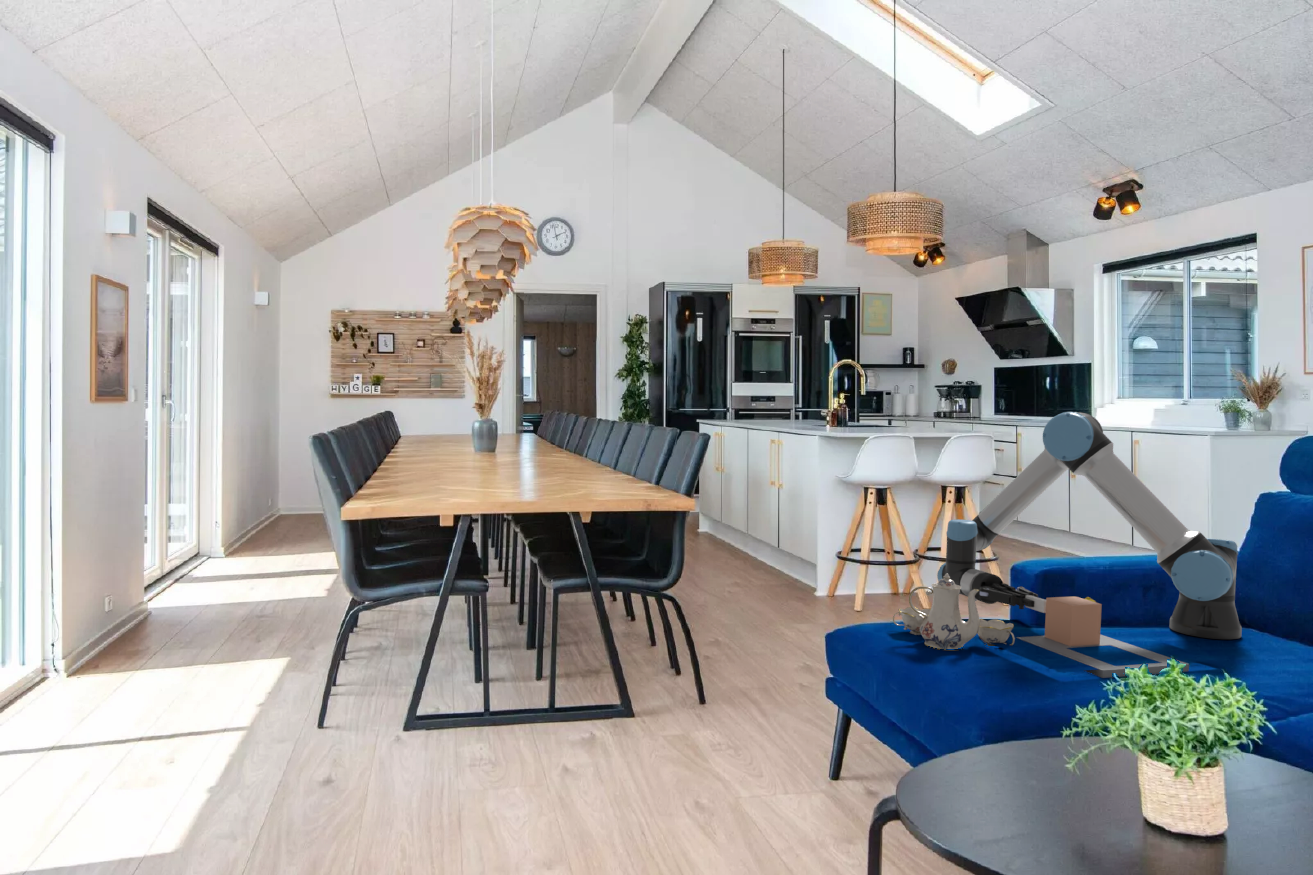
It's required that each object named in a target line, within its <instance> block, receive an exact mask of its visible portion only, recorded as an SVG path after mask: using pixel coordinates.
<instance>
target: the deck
mask: <svg viewBox="0 0 1313 875" xmlns="http://www.w3.org/2000/svg"><path fill="white" fill-rule="evenodd" d="M1016 638H1017V639H1018V640H1021V641H1023V642H1025V643H1029V644H1031V645H1033V646H1037V647H1039V648H1042V649H1044V650H1047V651H1050V652H1053V653H1055V654H1058V655H1060V656H1063V657H1066V658H1068V659H1071V660H1073V661H1077V662H1079V663H1082V664H1084V665H1086V666H1090V667H1092V668H1094V669H1088V670H1087V669H1085V670H1083V671H1084V672H1086V673H1089V674H1091V673H1092V674H1091V675H1094V676H1097V677H1098V678H1102V679H1105V678H1108V679H1109V678H1113V677H1112V673H1116V674H1117V675H1118V676H1119V677H1126V676H1125V667H1130V668H1139V667H1140V666H1141V665H1142V664H1143V663H1141V664H1129V665H1128V664H1127V665H1113V664H1110V663H1108V662H1105V661H1102V660H1100V659H1097V658H1095V657H1092V656H1089V655H1086V654H1084V653H1082V652H1081V653H1080V652H1077V651H1076V650H1072V649H1073V648H1074V649H1075V648H1086V647H1087V648H1088V647H1101V646H1102V647H1103V646H1105V647H1106V646H1111V647H1114V648H1117V649H1120V650H1122V651H1126V652H1129V653H1132V654H1135V655H1137V656H1140V657H1144V658H1146V659H1149V660H1152V661H1155V663H1152V662H1151V663H1147V664H1148V669H1149V672H1150V673H1152V674H1151V675H1156V674H1157V675H1158V674H1159V675H1160V673H1159V672H1160V671H1161V670H1162V669H1164V668H1167V659H1170V658H1171V657H1169V656H1166V655H1164V654H1160V653H1157V652H1154V651H1152V650H1148V649H1146V648H1142V647H1139V646H1137V645H1134V644H1130V643H1128V642H1124V641H1121V640H1119V639H1115V638H1112V637H1109V636H1107V635H1103V634H1101V633H1100V644H1097V645H1081V646H1068V645H1065V644H1063V643H1060V642H1057V641H1054V640H1052V639H1049V638H1046V637H1045V635H1033V636H1020V637H1019V636H1016V637H1015V639H1016ZM1176 660H1177V661H1179V662H1180V663H1183V664H1186V666H1185V667H1184V668H1183V673H1184V672H1189V671H1190V669H1189V668H1190V663H1188V662H1185V661H1182V660H1178V659H1176ZM1123 673H1124V674H1123Z"/></svg>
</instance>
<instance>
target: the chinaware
mask: <svg viewBox="0 0 1313 875" xmlns="http://www.w3.org/2000/svg"><path fill="white" fill-rule="evenodd" d="M943 577H944V579H941V580H939V581H938V582H935V583H931V587H930V586H925V585H923V586H922V585H921V586H917V587H915V588H913V589H912V590H911V591H910V592H909V594H908V604H909V606H908V607H906V608H902V607H900V608H898V612H896V613H894V614H893V615H892V621H893V623H894V625H896V626H898V627H901V626H904V628H903V630H905V631H906V630H910V632H909V634H912V635H915V636H917V635H918V636H920V635H921V636H922V638H923V639H924V645H925V646H927V647H928V646H930V647H929V648H931V647H933V648H932V649H935V648H937V649H936V650H940V649H944V650H943V651H947V650H946V649H958V648H961V647H963V646H964V645H965V644H967V643H968V642H969V641H971V640H972V639H973V638H974V637H975V636H977V635H978V637H979V639H980V640H981V641H982V642H983V643H985V644H987V645H988V646H998V645H997V644H1005V645H1007V642H1006V641H1008V639H1009V637H1010V635H1011V638H1012V641H1011V644H1010V646H1013V645H1014V644H1015V640H1016V637H1015V635H1014V633H1013V632H1012V630H1013V629H1014V627H1015V625H1014V623H1011V622H1009V623H1006V622H1004V621H1003V620H1000V619H998V618H997V619H996V618H995V619H990V620H986V619H983V618H980V614H979V611H978V608H977V603H976V601H975V594H976V593H977V592H978V591H979V590H978V589H974V590H972V591H971V592H970V593H969V595H968V597H967V609H968V610H967V611H968V620H967V621H964V620H963V619H962V616H961V610H960V606H959V605H960V604H959V602H960V600H959V599H960V594H959V593H960V589H961V588H962V587H961V586H959V585H956V584H955V583H954V581H953V580H951V579H949V578H950V576H949V575H948V574H947V573H946V574H945V576H943ZM920 589H921V590H922V589H923V590H924V589H925V590H927V591H926V592H925V595H927V596H931V595H933V597H932V598H933V599H932V604H931V607H930V608H922V609H920V608H918V607H916V606H914V604H913V602H912V597H913V594H914V593H916V591H918V590H920ZM897 614H898V616H899V617H900V616H901V620H902V622H903V624H902V623H901V624H899V623H897V622H896V621H895V616H896V615H897ZM994 643H995V644H994Z"/></svg>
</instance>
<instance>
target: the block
mask: <svg viewBox="0 0 1313 875" xmlns="http://www.w3.org/2000/svg"><path fill="white" fill-rule="evenodd" d="M1045 600H1046V613H1045V621H1044V622H1045V623H1044V636H1045V637H1046V638H1049V639H1052V640H1054V641H1057V642H1060V643H1063V644H1065V645H1068V646H1081V645H1097V644H1100V634H1101V628H1102V627H1101V624H1102V605H1103V604H1102V603H1099V602H1097V601H1095V602H1093V601H1089V600H1086V599H1085V598H1081V597H1079V596H1055V597H1054V596H1053V597H1052V596H1051V597H1046V599H1045Z"/></svg>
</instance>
